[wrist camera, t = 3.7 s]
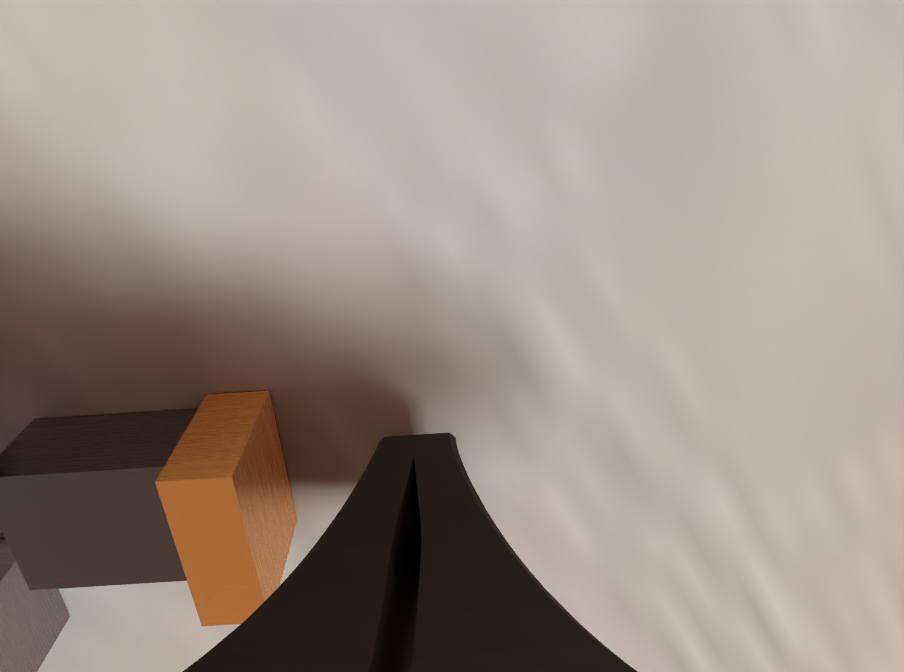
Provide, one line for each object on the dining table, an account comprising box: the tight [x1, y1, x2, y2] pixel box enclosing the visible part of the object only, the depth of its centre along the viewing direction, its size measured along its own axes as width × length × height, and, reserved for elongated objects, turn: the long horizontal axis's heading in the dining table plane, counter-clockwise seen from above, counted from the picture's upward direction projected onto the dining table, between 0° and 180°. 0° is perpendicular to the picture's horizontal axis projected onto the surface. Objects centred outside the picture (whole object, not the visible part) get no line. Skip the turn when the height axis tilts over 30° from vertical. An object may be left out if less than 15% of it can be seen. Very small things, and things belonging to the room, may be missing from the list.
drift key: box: [0, 391, 297, 626], centre depth 12 cm, size 5×3×3 cm
